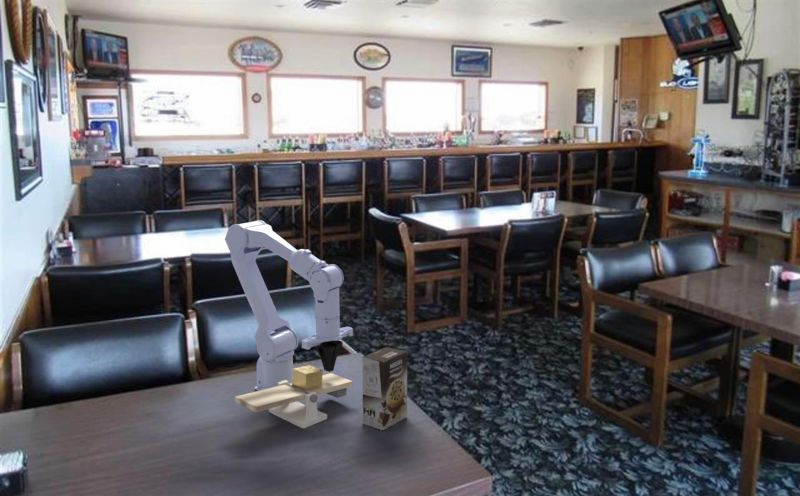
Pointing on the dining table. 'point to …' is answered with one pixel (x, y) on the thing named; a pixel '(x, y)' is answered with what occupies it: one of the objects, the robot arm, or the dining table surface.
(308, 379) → the rider
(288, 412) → the stand
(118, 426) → the dining table surface
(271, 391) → the beam
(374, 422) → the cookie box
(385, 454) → the dining table surface
